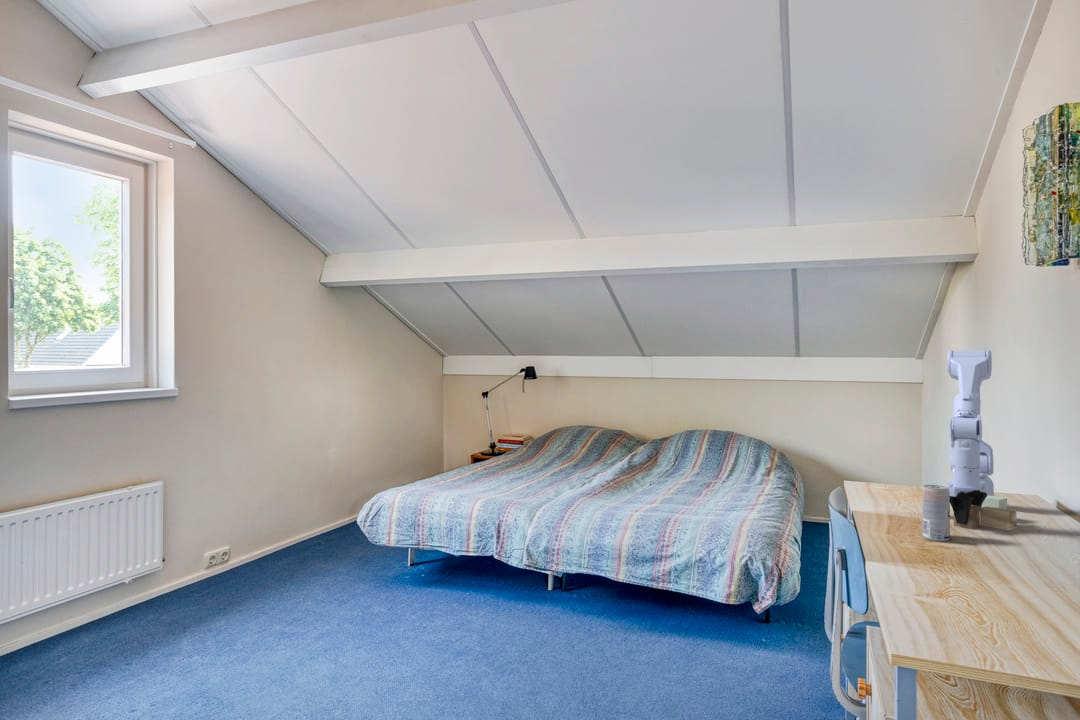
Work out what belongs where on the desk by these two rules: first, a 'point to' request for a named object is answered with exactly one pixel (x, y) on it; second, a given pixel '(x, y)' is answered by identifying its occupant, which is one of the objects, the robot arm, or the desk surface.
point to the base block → (998, 517)
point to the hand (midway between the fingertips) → (966, 522)
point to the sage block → (995, 502)
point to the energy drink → (936, 513)
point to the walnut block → (971, 518)
